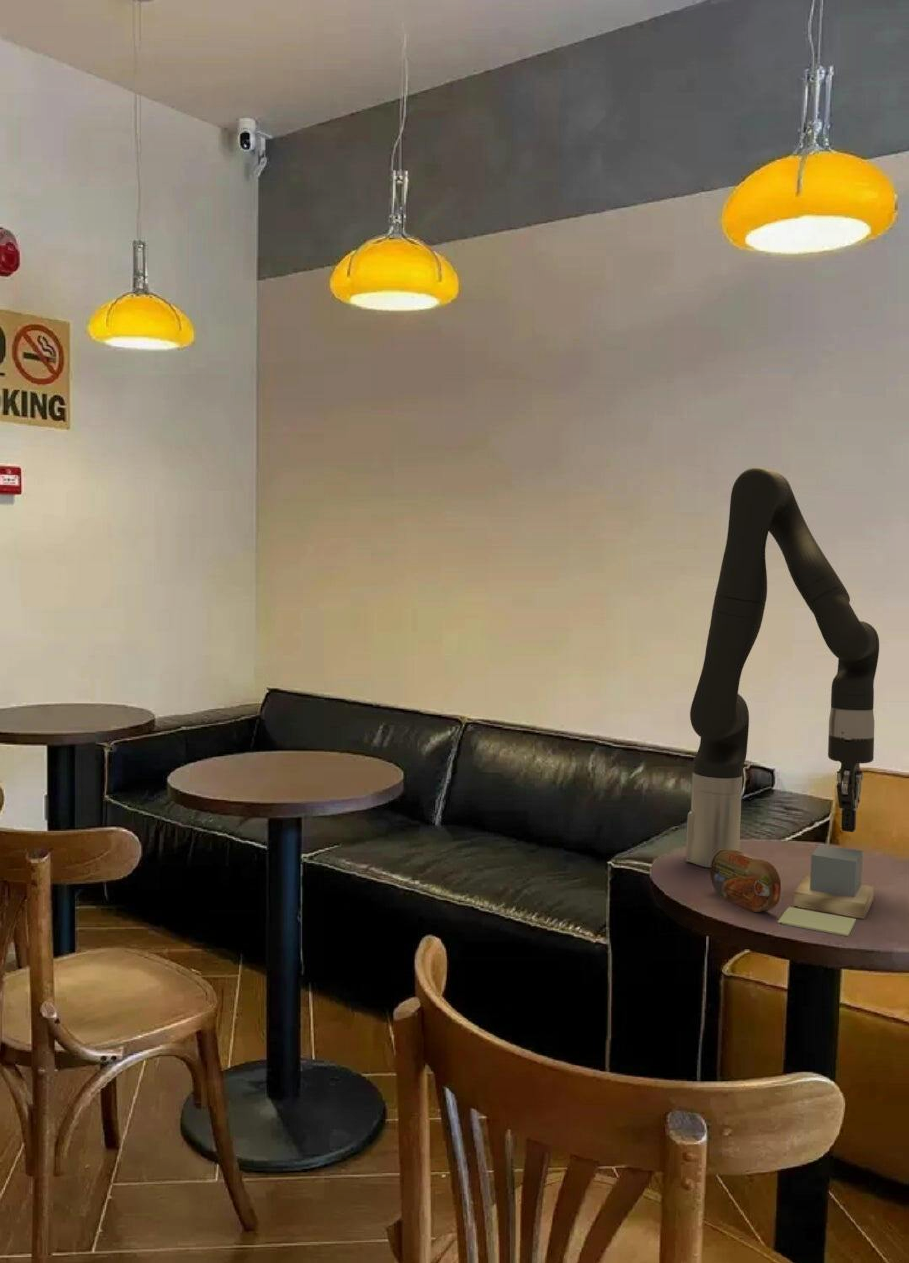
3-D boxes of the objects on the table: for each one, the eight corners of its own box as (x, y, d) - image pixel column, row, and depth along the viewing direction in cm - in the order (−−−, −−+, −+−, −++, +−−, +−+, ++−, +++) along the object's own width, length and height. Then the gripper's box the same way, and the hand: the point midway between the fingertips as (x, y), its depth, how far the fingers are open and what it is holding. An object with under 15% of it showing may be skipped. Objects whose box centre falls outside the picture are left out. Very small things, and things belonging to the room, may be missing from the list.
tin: (707, 892, 175) (709, 844, 175) (722, 890, 176) (724, 842, 176) (767, 919, 162) (770, 867, 161) (783, 917, 163) (785, 866, 162)
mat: (777, 923, 160) (777, 921, 160) (788, 908, 167) (788, 907, 167) (848, 936, 154) (848, 934, 154) (856, 920, 162) (856, 919, 162)
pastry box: (809, 890, 169) (811, 854, 169) (818, 878, 176) (820, 844, 176) (854, 897, 166) (855, 861, 166) (861, 885, 173) (862, 850, 173)
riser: (793, 906, 168) (794, 891, 168) (806, 889, 178) (807, 875, 178) (864, 919, 163) (865, 903, 163) (873, 901, 172) (873, 886, 172)
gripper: (834, 728, 186) (832, 821, 186) (822, 736, 174) (819, 835, 175) (878, 731, 182) (875, 826, 183) (868, 740, 170) (865, 841, 171)
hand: (848, 830), depth 179 cm, fingers closed
